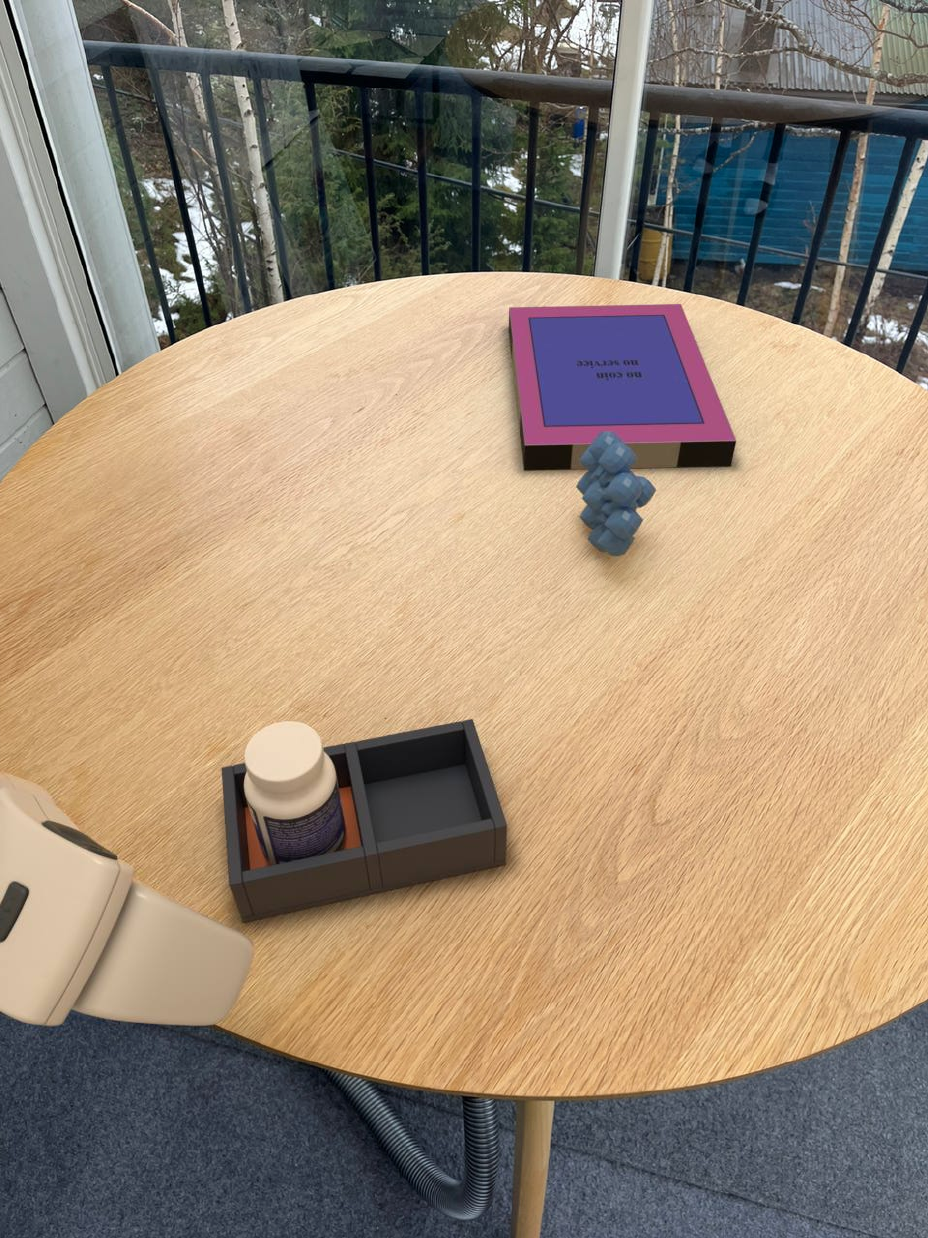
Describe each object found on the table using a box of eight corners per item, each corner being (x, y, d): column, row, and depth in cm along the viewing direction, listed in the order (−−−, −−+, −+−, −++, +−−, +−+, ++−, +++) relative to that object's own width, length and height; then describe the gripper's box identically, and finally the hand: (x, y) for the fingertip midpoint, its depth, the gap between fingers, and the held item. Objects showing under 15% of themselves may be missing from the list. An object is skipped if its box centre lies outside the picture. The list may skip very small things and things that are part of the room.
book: (680, 303, 115) (736, 440, 93) (677, 326, 117) (730, 466, 95) (509, 307, 115) (524, 445, 93) (508, 330, 117) (523, 470, 95)
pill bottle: (364, 829, 64) (349, 736, 57) (313, 895, 60) (291, 804, 53) (297, 794, 66) (275, 700, 59) (244, 855, 62) (214, 763, 55)
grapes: (668, 583, 83) (690, 470, 74) (594, 593, 82) (607, 480, 73) (629, 504, 91) (644, 394, 82) (561, 512, 90) (569, 402, 82)
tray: (242, 923, 60) (229, 885, 57) (233, 806, 66) (221, 767, 63) (505, 864, 63) (507, 825, 59) (473, 758, 69) (472, 718, 66)
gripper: (-187, 865, 45) (46, 917, 56) (53, 1045, 33) (288, 1067, 44) (-116, 743, 47) (96, 817, 57) (135, 874, 35) (342, 935, 46)
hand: (181, 927), depth 51 cm, fingers open, 8 cm apart
